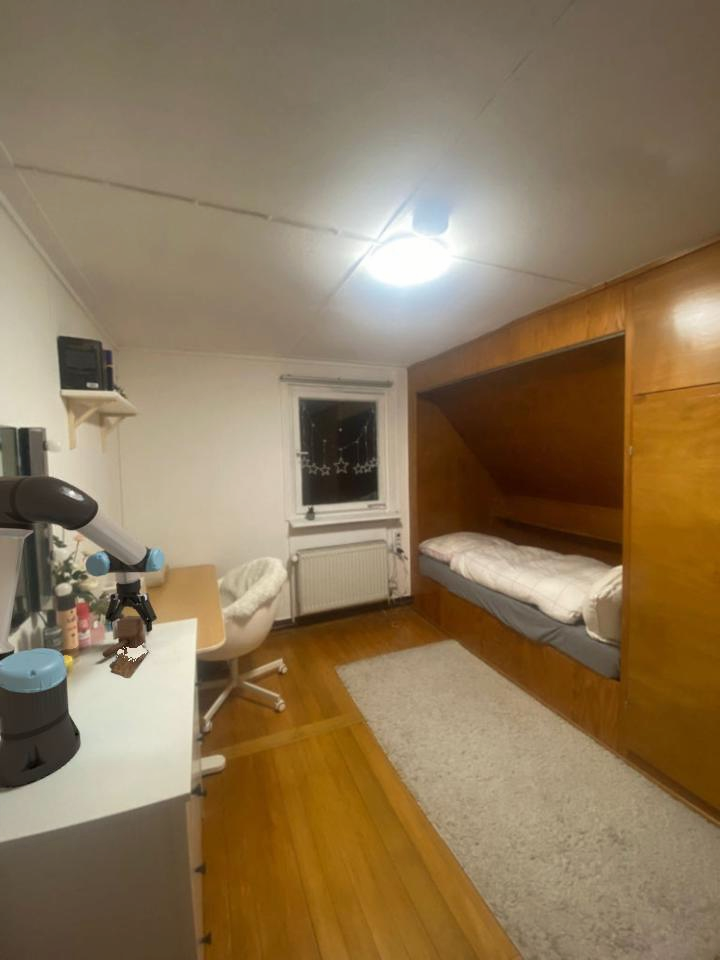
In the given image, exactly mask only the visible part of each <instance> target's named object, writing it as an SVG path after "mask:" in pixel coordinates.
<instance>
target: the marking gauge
mask: <svg viewBox="0 0 720 960" xmlns="http://www.w3.org/2000/svg"><path fill="white" fill-rule="evenodd" d="M144 623H145V622H144V621H143V620H142V618H141V617H140V615H126V616H124V617H123V618H120V620H119V621H117V628H118V638H117V640H118V641H117V642H118V643H117V644H115V645H113V646H111V647H110V648H108V649H106V650H104V651H103V652H102V657H104V658H109V657H110V658H111V655H112V654H114V653H116V651H118V650H119V649H121V648H123V647H124V648H126V647H129V648H137V647H138V646H140V645H142V644H143V643H145V642H144V634H143V624H144Z"/></svg>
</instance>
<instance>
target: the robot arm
mask: <svg viewBox="0 0 720 960" xmlns="http://www.w3.org/2000/svg"><path fill="white" fill-rule="evenodd" d="M38 523H40V524H41V523H43V524H45V523H46V524H51V525H55V526H59V527H61V528H62V529H63V530H65V531H70V532H73V531H74V532H75V531H76V532H77V533H78V534H80V535H81V536H83V537H84V538H86V539H88V540H89V541H90V542H92V543H93V544H95V545H96V546H98V547H100V548H101V549H102V550H99V551H97V552H95V553H92V554H91V555H89V556H88V557H87V558H86V561H85V569H86V572H87V573H88V574H89V575H91V576H92V577H103V576H106V575H107V574H115V582H116V583H115V586H116V587H115V588H116V592H114V593H112V594H111V595H110V600H109V601H110V602H109V604H108V608H107V610H106V614H105V617H104V618H105V620H108V621H110V628H111V630H112V639H113V641H115V640H118V628H117V621H119V620H121V618H120V615H121V614H122V611H123V610H124V609H125V608H127V607H128V608H132V609H133V610H135V612H137V614H138V616H140V617H141V618H142V620H143V621H144V622H145V623H144V624H143V634H144V642H146V643H147V642H148V641H151V639H152V631H153V622H155V621H156V620H157V618H158V617H157V615H156V613H155V610H154V607H153V605H152V604H151V601H150V598H149V593H145V594H141V589H142V585H141V583H142V582H141V579H140V578H141V573H156V572H159V571H160V570H161V569H162V568H163V566H164V563H165V553H164V551H163V550H162V549H159V548H154V547H153V548H149V547H147V546H146V545H145V544H143V543H142V542H141V541H140V540H139V539H138V538H137V537H135V536H134V535H132V533H130V532H129V531H128V530H126V529H125V528H124V527H122V526H121V525H120V524H119V523H117V522H116V521H115V520H114V519H113V518H111V517H110V516H109V515H108V514H106V513H105V512H104V511H102V509H100V506H99V504H98V501H96V500H95V499H94V498H93V497H92V496H91V495H89V494H88V493H86V492H85V491H84V490H81V489H80V488H79V487H77V486H74V485H73V484H71V483H69V482H67V481H64V480H62V479H59V478H58V477H53V476H48V475H42V474H41V475H38V474H37V475H35V474H34V475H0V787H1V786H4V787H3V788H8V787H7V786H14V787H19V786H23V785H22V784H24V785H26V784H25V783H27V784H29V783H28V782H30V783H32V782H31V781H33V782H35V781H34V780H36V779H38V780H40V779H42V778H41V777H43V776H45V777H47V776H49V775H50V774H52V773H54V772H55V771H57V770H59V769H60V768H62V767H63V766H64V765H66V764H67V763H68V762H69V761H70V760H72V759H73V758H74V756H75V755H76V754H77V752H79V750H80V748H81V743H82V741H81V733H80V730H79V729H78V726H77V725H76V723H75V722H74V719H73V718H72V716H71V714H70V710H69V708H70V707H69V696H68V695H69V693H68V677H67V676H68V675H67V674H68V673H67V671H68V670H67V666H66V663H65V657H64V655H63V654H62V653H61V652H60V651H58V650H56V649H53V648H44V647H38V648H32V649H31V650H28V649H25V650H21V651H18V652H15V650H16V649H15V648H16V646H14V644H13V645H12V643H11V642H10V641H9V637H10V636H9V635H10V629H11V624H12V617H13V611H14V606H15V605H14V604H15V599H16V592H17V586H18V579H19V573H20V568H21V562H22V556H23V550H24V543H25V539H26V538H27V537H28V536H30V535H31V534H33V533H34V531H35V524H38ZM48 774H49V775H48ZM46 775H47V776H46ZM39 778H40V779H39ZM43 778H44V777H43ZM36 781H37V780H36ZM18 785H19V786H18ZM5 786H6V787H5Z"/></svg>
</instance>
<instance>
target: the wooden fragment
mask: <svg viewBox="0 0 720 960" xmlns="http://www.w3.org/2000/svg"><path fill="white" fill-rule="evenodd" d="M121 649H122V650H124V655H123V653H121V654H119V655H117V654H116V657H117V656H118V658H116V659H115V660H114V661H112V662H110V665H109V666H110V667H111V670H110V673H112V674H115V675H118V676H121V677H123V678H124V679H131V677H132V676H133V674H134V673H135V672H136V670H137V669H138V668H139V667H140V665H141V663H142V662H143V660H144V659H145V658H146V657H147V655H148V654H149V653H146V654H145V653H144V654H142V655H141V656H140V657H138V658H137V659H136V658H135V659H136V661H135V659H133V658H132V657H130V658H132V660H130V661H128V660H129V659H130V658H128V656H125V654H127V653H128V652H127V648H125V649H124V648H121ZM124 657H125V658H124ZM133 660H134V662H133Z"/></svg>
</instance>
